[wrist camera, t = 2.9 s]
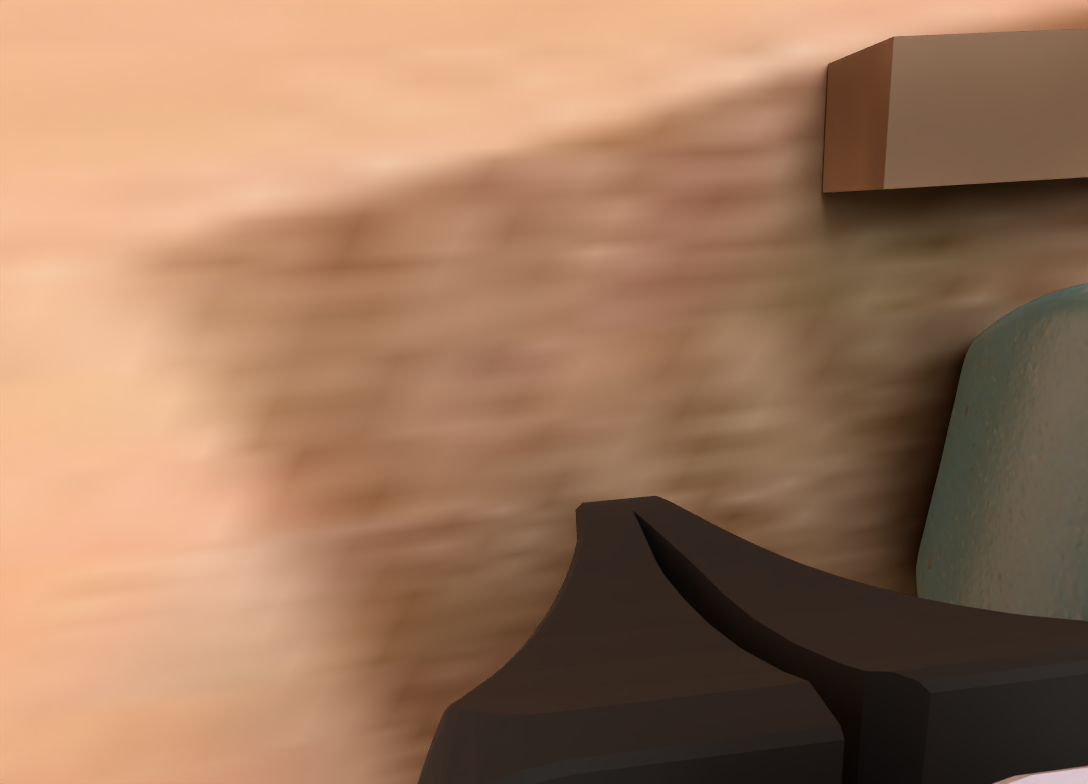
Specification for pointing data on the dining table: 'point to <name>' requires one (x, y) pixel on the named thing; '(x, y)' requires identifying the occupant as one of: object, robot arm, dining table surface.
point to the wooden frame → (958, 111)
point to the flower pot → (1016, 469)
